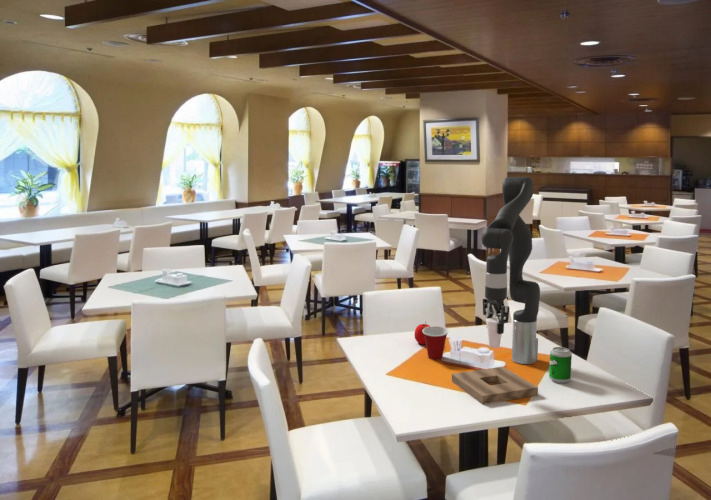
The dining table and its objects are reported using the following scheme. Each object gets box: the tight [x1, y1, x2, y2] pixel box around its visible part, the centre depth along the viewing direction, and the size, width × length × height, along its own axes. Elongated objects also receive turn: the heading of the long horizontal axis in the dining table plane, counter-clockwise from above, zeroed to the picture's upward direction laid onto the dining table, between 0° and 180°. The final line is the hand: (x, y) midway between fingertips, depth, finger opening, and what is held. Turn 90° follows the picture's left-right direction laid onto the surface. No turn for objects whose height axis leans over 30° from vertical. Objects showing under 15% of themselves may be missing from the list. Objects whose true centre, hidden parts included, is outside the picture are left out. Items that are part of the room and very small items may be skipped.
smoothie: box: [485, 317, 503, 349], centre depth 211 cm, size 6×6×14 cm
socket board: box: [451, 366, 539, 405], centre depth 215 cm, size 22×22×3 cm
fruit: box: [414, 321, 431, 346], centre depth 266 cm, size 9×9×10 cm
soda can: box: [548, 346, 573, 384], centre depth 221 cm, size 8×8×12 cm
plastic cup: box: [422, 325, 449, 360], centre depth 247 cm, size 11×11×12 cm
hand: (494, 330), depth 212 cm, fingers closed on smoothie, 6 cm apart
